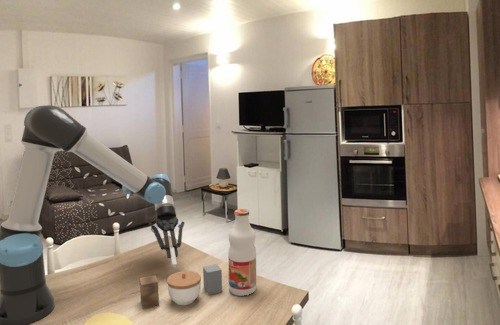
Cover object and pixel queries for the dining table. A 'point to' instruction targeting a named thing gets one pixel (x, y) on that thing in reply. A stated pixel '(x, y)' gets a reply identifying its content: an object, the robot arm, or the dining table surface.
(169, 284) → the lidded jar
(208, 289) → the grey block
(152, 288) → the walnut block
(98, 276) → the dining table surface
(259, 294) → the dining table surface
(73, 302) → the dining table surface
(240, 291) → the fruit juice
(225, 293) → the dining table surface
